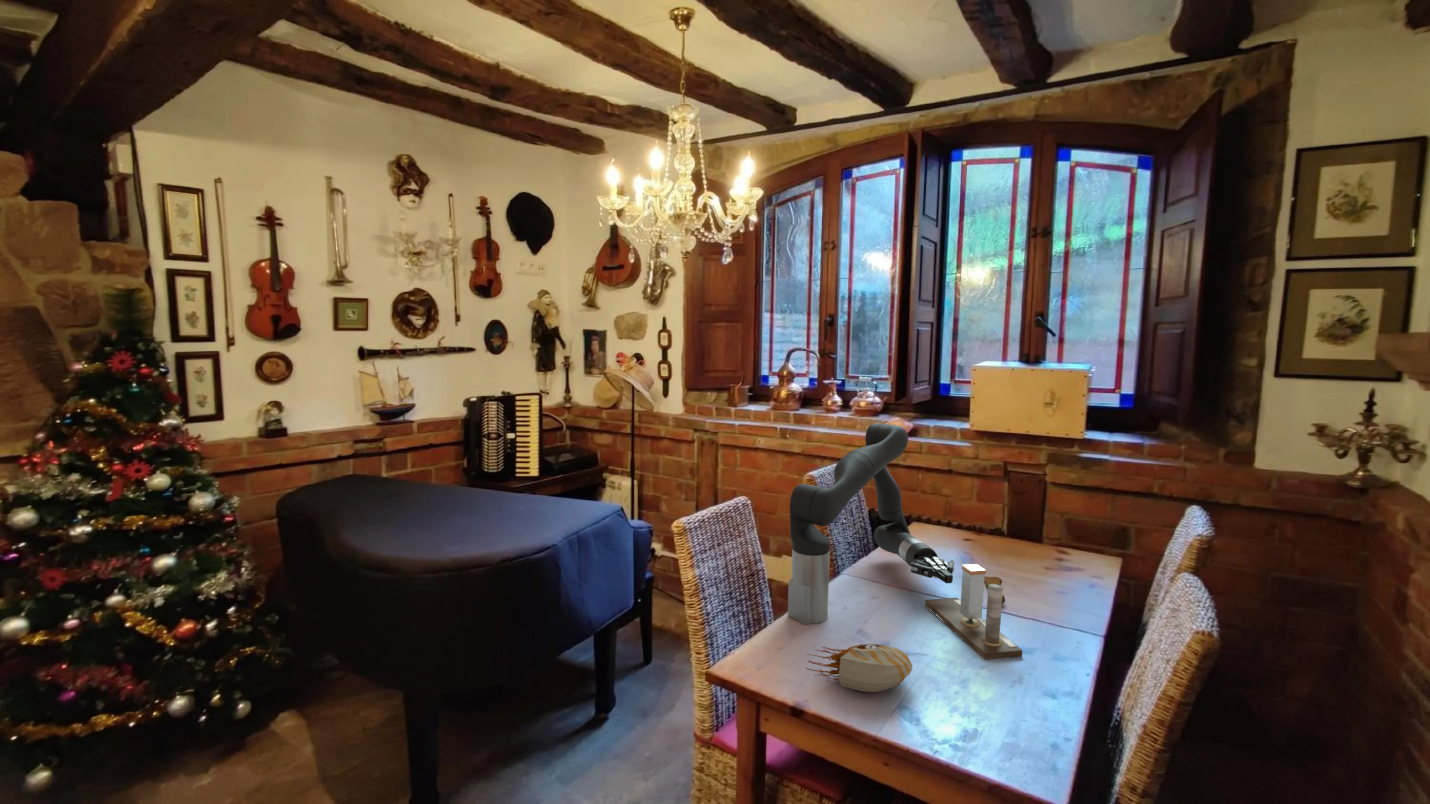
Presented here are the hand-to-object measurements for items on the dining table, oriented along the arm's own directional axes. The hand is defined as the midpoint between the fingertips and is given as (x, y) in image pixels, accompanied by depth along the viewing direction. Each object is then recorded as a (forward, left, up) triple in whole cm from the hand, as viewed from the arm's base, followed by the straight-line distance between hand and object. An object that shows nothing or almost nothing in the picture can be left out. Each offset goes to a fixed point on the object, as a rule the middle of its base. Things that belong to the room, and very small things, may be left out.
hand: (949, 579), depth 163 cm
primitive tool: (+21, -1, -9) cm, 23 cm away
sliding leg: (-5, -9, -6) cm, 12 cm away
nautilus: (-44, -5, -9) cm, 45 cm away
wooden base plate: (-5, -9, -8) cm, 13 cm away
